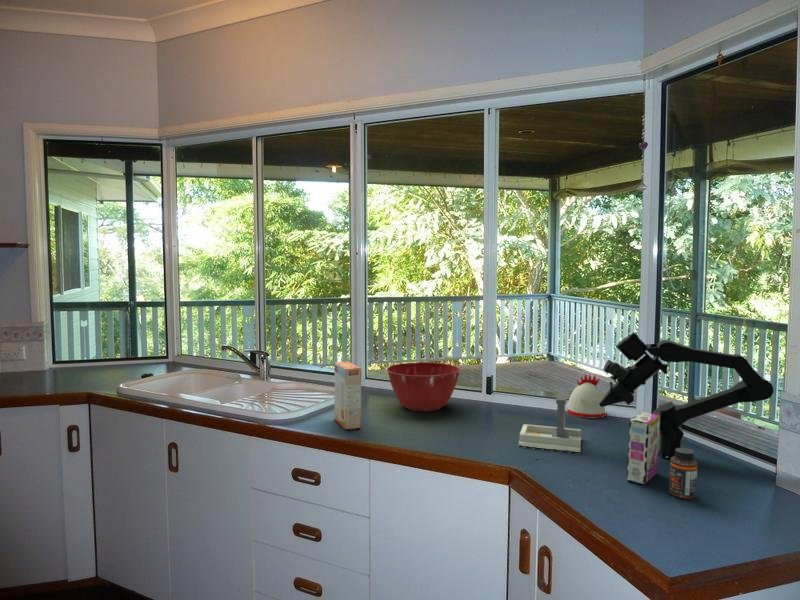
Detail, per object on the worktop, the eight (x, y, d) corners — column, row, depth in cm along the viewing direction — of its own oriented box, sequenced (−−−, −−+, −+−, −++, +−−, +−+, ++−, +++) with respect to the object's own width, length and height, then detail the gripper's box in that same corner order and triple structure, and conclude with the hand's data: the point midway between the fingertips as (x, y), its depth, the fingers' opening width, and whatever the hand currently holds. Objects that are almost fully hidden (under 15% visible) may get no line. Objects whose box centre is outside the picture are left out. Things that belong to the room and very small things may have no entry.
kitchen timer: (608, 419, 202) (610, 378, 201) (569, 417, 205) (570, 376, 204) (602, 409, 216) (604, 371, 215) (565, 407, 219) (566, 369, 218)
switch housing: (580, 439, 180) (581, 428, 180) (580, 453, 167) (580, 441, 167) (523, 433, 186) (523, 423, 185) (518, 446, 172) (519, 435, 172)
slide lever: (569, 434, 178) (570, 394, 177) (568, 443, 170) (569, 400, 169) (553, 433, 180) (554, 393, 179) (551, 441, 172) (552, 399, 171)
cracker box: (362, 428, 190) (362, 367, 188) (344, 430, 188) (344, 369, 186) (350, 417, 203) (350, 360, 201) (333, 419, 201) (333, 361, 199)
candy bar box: (646, 486, 143) (648, 423, 142) (626, 481, 146) (628, 419, 145) (658, 473, 151) (661, 413, 150) (639, 469, 155) (641, 410, 153)
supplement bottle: (663, 492, 139) (665, 447, 139) (681, 488, 141) (683, 444, 141) (683, 501, 134) (685, 455, 133) (701, 498, 136) (703, 452, 135)
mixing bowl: (378, 401, 227) (378, 363, 226) (443, 396, 236) (444, 359, 235) (398, 420, 200) (399, 377, 199) (472, 413, 209) (472, 372, 208)
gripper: (619, 347, 177) (581, 379, 181) (622, 357, 159) (580, 392, 163) (645, 373, 175) (606, 405, 179) (651, 386, 157) (608, 421, 161)
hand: (600, 405), depth 171 cm, fingers closed
